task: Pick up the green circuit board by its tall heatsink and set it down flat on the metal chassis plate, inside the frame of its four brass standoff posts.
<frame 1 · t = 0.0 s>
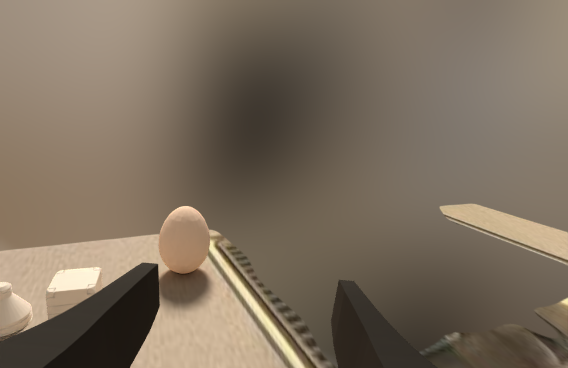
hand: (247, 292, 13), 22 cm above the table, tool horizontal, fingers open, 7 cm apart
container set: (6, 326, 39), on the table
egg: (184, 272, 54), on the table
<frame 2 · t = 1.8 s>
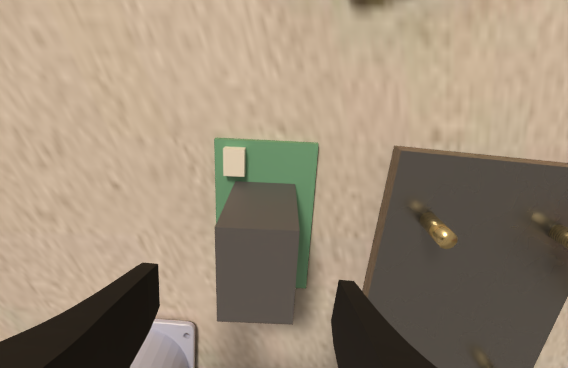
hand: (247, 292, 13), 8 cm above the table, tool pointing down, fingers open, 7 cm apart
board: (264, 215, 21), on the table
chassis plate: (454, 294, 22), on the table
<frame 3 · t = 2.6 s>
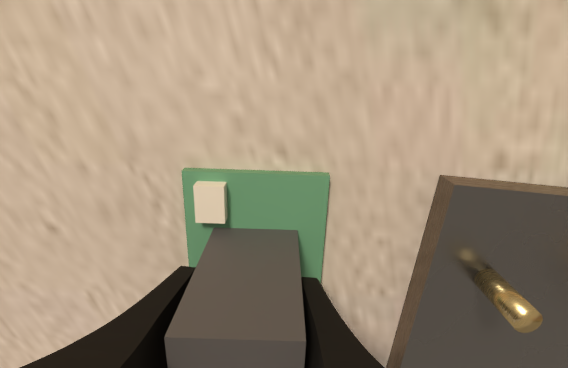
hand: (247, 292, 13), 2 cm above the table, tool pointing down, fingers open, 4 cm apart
board: (256, 269, 15), on the table, touching gripper
chassis plate: (510, 366, 17), on the table
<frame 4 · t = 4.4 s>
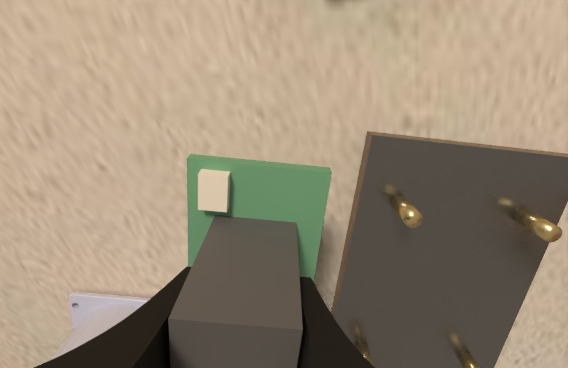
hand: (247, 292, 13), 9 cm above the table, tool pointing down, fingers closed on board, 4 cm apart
board: (253, 258, 16), point 6 cm above the table, touching gripper
chassis plate: (427, 276, 23), on the table
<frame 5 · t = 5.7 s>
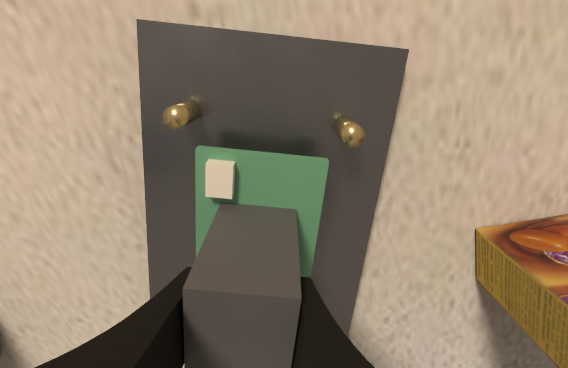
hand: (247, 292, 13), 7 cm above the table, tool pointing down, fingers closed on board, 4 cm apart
board: (256, 243, 17), point 3 cm above the table, touching gripper
chassis plate: (260, 214, 20), on the table
candy box: (541, 238, 20), on the table
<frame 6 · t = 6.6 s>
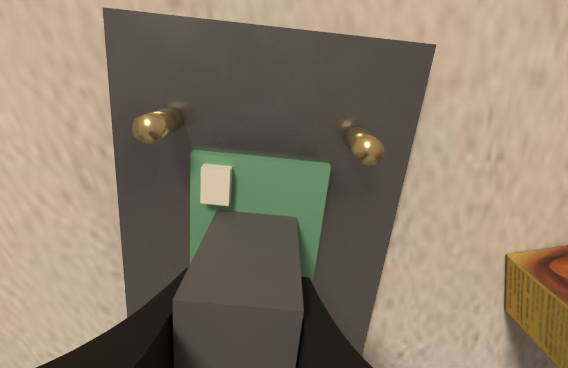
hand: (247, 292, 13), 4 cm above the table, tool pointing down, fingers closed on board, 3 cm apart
board: (254, 253, 16), point 1 cm above the table, touching chassis plate, gripper
chassis plate: (256, 237, 17), on the table
when the fingers open (4 cm above the table, at t = 6.7 s): board stays where it is, resting on chassis plate.
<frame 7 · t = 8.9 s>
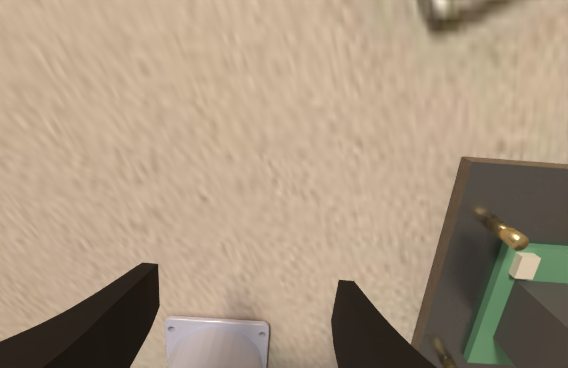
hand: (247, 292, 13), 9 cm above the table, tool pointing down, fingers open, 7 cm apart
board: (522, 305, 23), point 1 cm above the table, touching chassis plate
chassis plate: (512, 291, 24), on the table
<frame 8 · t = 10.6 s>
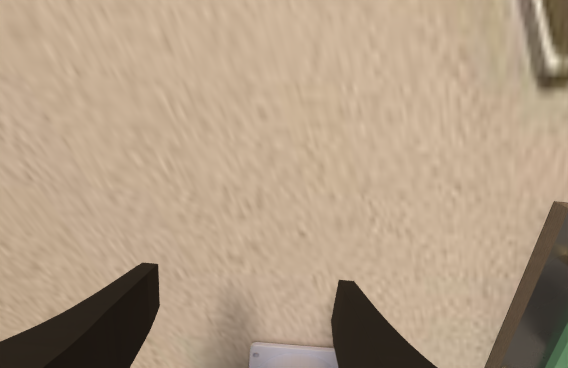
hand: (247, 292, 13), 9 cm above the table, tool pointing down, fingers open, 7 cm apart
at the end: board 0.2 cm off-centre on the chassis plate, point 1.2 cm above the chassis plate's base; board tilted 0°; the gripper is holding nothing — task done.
